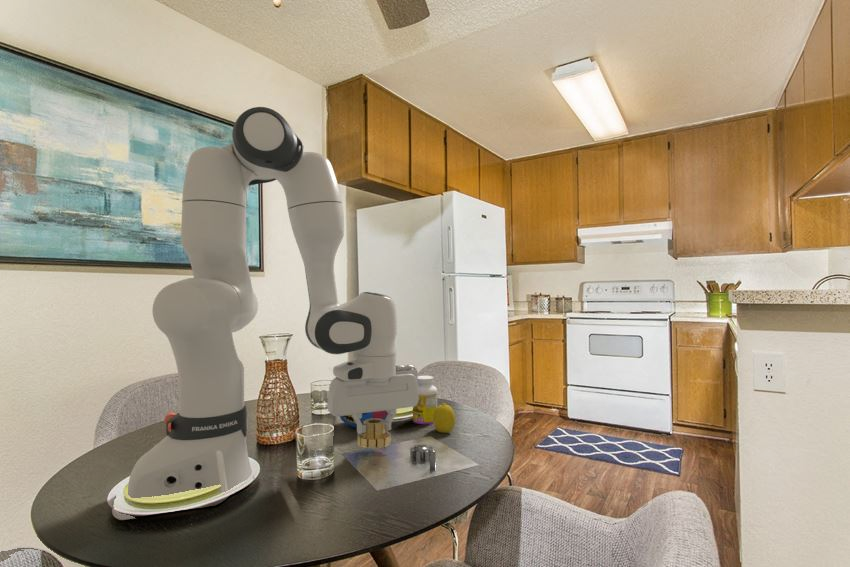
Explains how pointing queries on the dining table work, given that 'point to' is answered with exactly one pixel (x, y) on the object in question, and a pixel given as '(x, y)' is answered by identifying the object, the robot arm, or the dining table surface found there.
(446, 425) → the lemon
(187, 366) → the robot arm
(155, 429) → the dining table surface
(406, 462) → the plate
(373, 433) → the gear
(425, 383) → the supplement bottle
